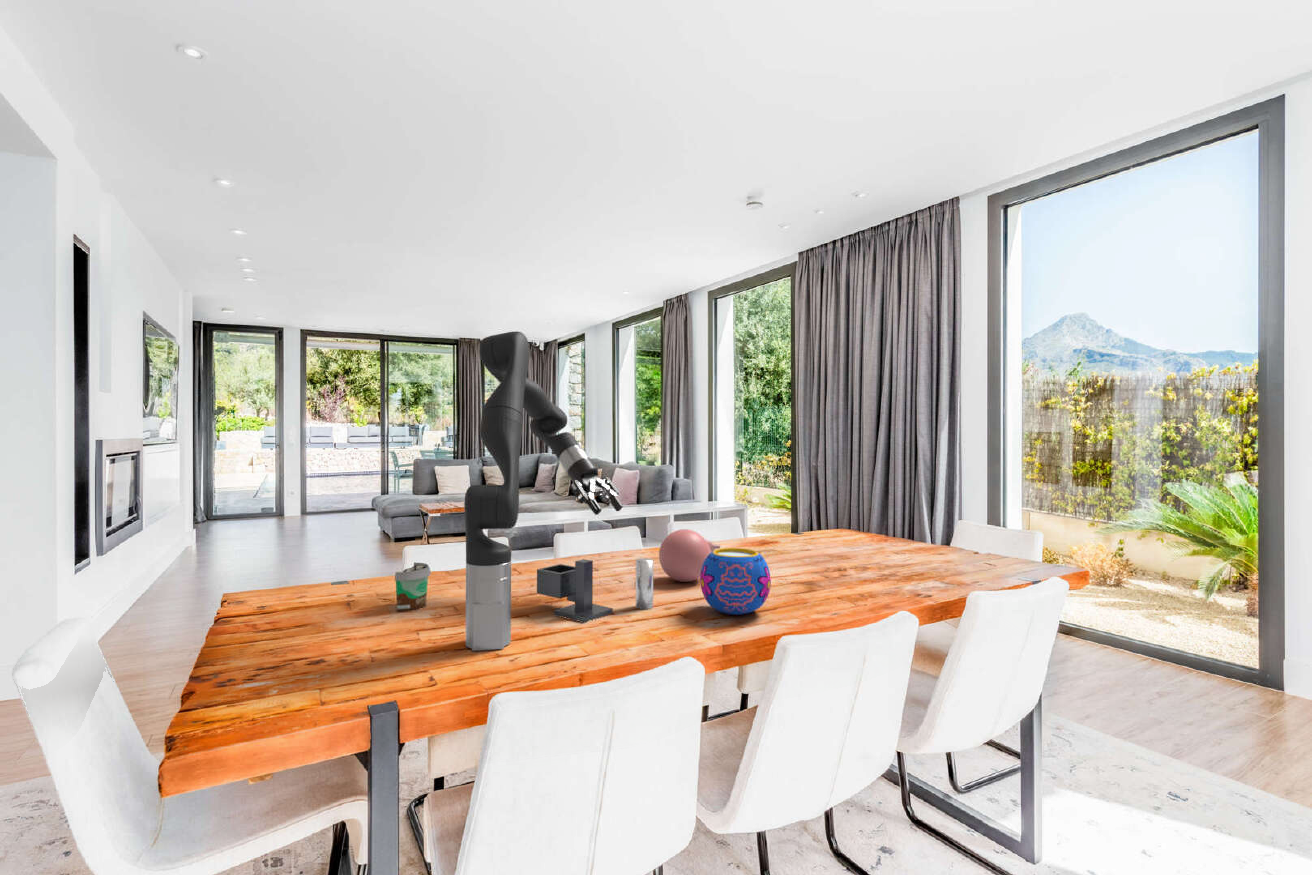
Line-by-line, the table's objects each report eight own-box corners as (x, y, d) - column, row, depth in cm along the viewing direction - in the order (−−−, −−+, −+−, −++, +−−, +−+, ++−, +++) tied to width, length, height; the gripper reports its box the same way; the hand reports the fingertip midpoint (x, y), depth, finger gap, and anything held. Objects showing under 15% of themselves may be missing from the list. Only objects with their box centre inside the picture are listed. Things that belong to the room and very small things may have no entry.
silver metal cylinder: (654, 608, 161) (655, 561, 161) (637, 609, 160) (638, 562, 160) (650, 604, 166) (651, 557, 166) (634, 605, 165) (634, 558, 165)
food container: (419, 614, 155) (419, 572, 155) (394, 613, 155) (394, 572, 155) (438, 600, 168) (438, 562, 168) (414, 600, 168) (414, 562, 168)
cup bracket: (612, 613, 157) (613, 560, 157) (584, 622, 149) (585, 567, 149) (562, 601, 168) (562, 551, 167) (534, 610, 159) (534, 557, 159)
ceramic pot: (767, 603, 167) (768, 546, 167) (773, 624, 150) (774, 560, 149) (700, 601, 169) (701, 544, 169) (698, 621, 151) (698, 558, 151)
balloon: (733, 583, 189) (734, 531, 189) (672, 589, 181) (672, 535, 181) (708, 572, 203) (709, 523, 203) (650, 577, 195) (651, 527, 195)
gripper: (567, 457, 169) (599, 504, 162) (602, 455, 180) (634, 499, 174) (552, 476, 172) (583, 523, 166) (588, 473, 184) (619, 517, 177)
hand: (609, 511), depth 170 cm, fingers open, 8 cm apart
